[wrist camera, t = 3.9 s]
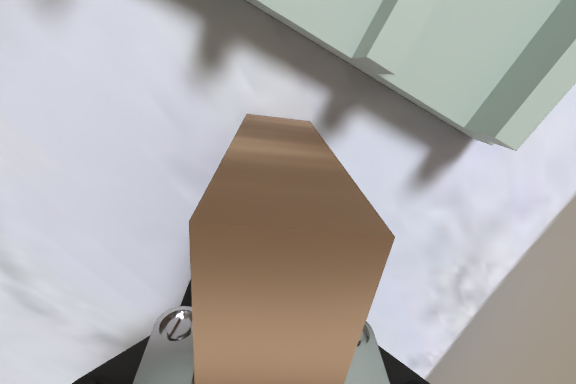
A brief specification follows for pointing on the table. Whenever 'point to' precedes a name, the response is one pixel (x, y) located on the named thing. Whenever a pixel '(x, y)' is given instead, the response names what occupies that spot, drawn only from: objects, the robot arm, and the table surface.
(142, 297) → the table surface
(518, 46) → the display rail
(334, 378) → the long brown rectangular block
